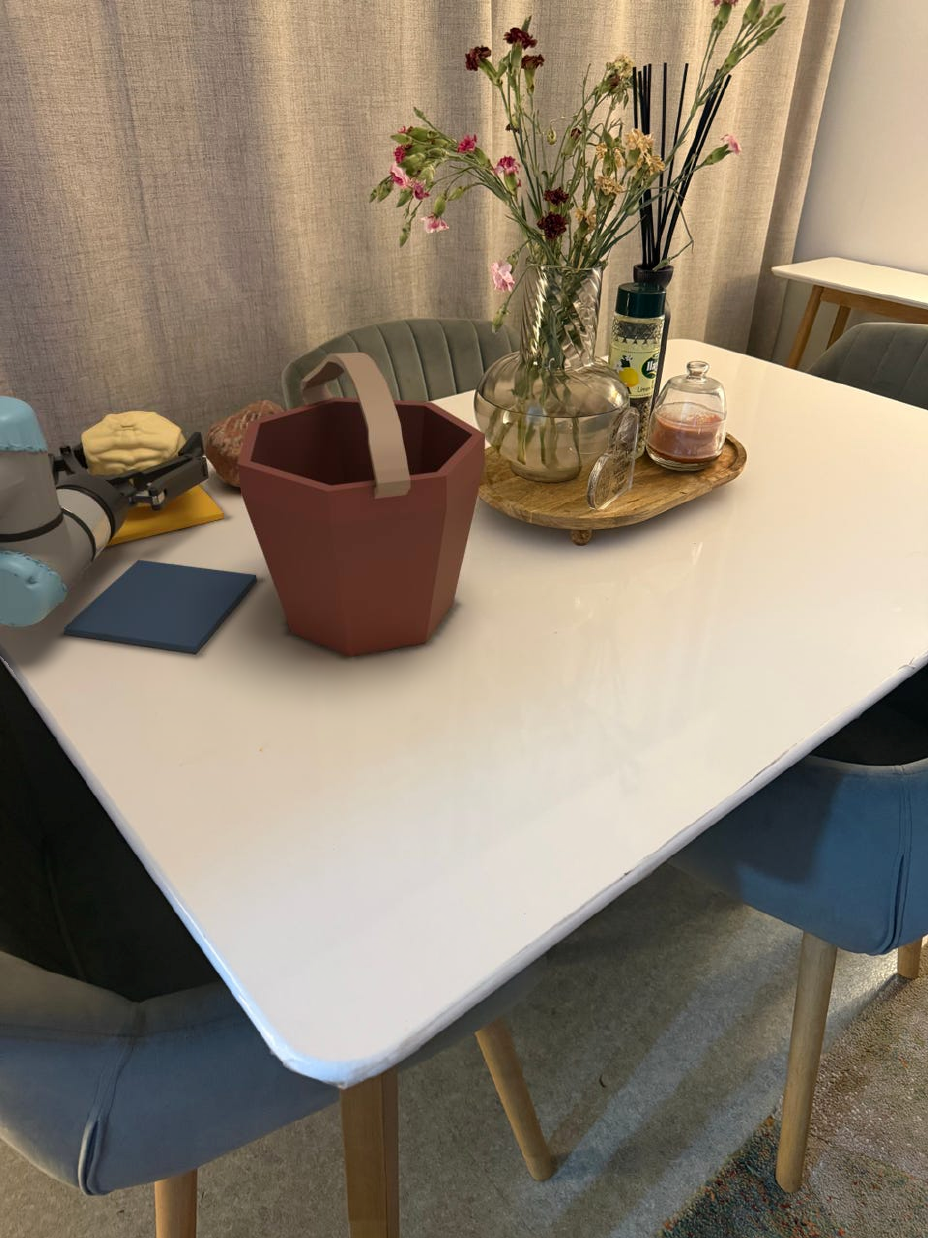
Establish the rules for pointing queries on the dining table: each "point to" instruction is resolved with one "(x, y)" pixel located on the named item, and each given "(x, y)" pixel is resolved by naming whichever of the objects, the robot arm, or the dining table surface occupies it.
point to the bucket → (362, 508)
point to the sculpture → (130, 443)
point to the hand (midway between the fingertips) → (150, 441)
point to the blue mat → (163, 606)
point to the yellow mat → (168, 516)
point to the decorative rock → (233, 438)
